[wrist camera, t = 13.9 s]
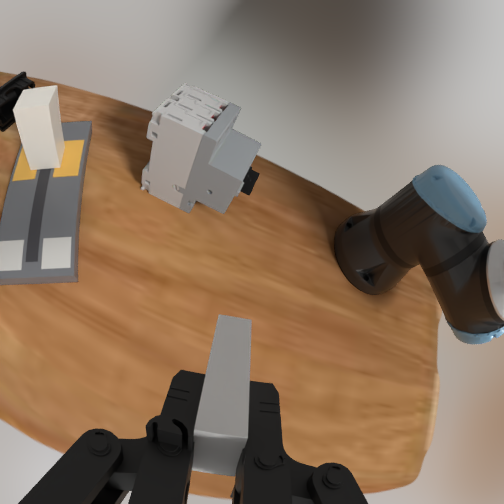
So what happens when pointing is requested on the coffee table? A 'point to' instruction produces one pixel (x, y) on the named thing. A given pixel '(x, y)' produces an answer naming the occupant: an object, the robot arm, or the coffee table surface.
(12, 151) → the coffee table surface
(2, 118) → the end cap
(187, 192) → the circuit breaker
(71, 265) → the grey flat board
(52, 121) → the slider tab
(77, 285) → the coffee table surface
